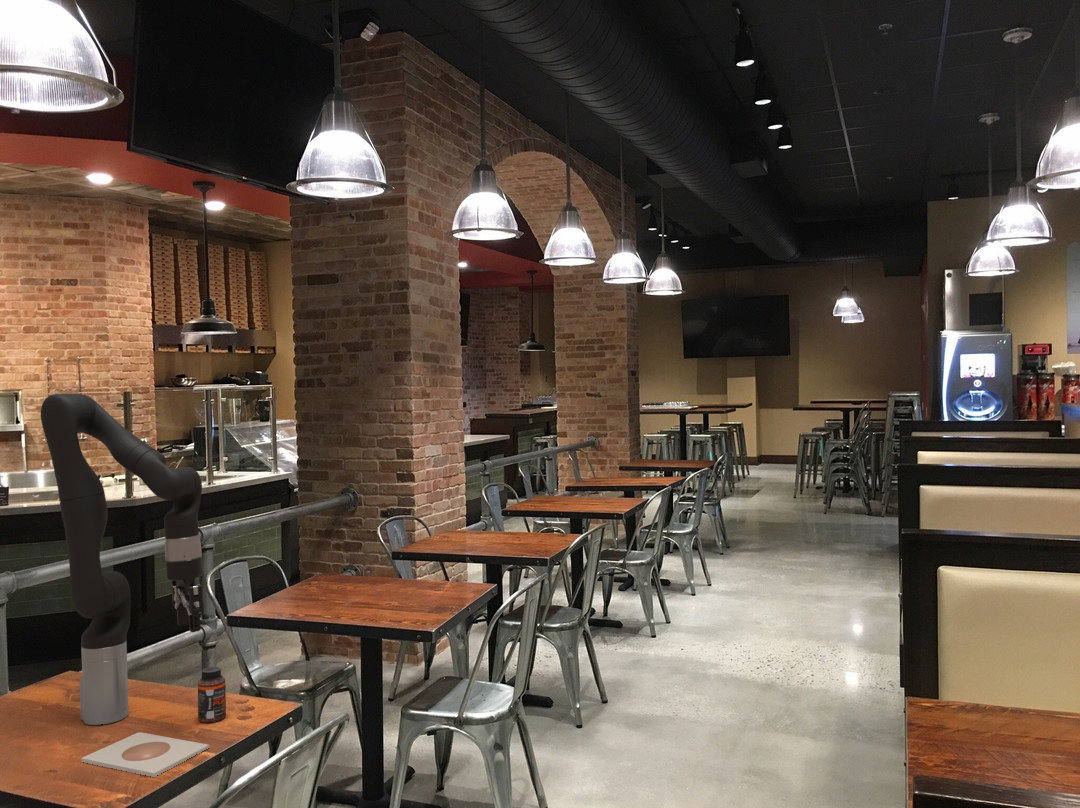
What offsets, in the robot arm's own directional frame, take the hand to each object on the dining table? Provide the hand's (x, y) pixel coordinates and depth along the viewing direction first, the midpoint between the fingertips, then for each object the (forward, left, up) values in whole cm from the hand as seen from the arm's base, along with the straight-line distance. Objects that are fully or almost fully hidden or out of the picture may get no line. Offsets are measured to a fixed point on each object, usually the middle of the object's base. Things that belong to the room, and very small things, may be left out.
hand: (189, 628), depth 188 cm
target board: (+5, -17, -21) cm, 27 cm away
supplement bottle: (+3, +3, -22) cm, 22 cm away
